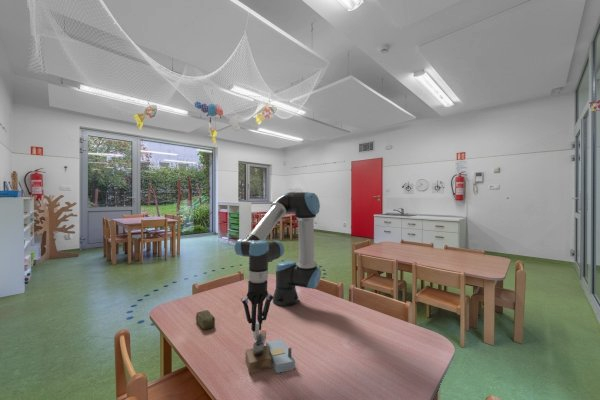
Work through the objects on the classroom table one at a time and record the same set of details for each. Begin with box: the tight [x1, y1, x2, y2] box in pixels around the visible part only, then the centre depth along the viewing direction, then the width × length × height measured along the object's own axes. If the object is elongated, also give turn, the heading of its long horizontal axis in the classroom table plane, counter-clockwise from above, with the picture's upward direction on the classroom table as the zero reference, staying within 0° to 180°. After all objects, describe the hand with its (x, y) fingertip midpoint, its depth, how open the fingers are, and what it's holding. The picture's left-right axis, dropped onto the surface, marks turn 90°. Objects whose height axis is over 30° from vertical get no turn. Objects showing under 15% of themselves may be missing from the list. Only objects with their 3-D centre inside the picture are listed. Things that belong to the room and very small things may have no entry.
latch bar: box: [252, 329, 267, 356], centre depth 98 cm, size 12×4×4 cm, turn 178°
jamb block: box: [244, 345, 272, 375], centre depth 94 cm, size 8×8×4 cm
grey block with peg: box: [265, 338, 296, 374], centre depth 97 cm, size 7×15×6 cm, turn 21°
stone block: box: [195, 309, 216, 330], centre depth 122 cm, size 6×12×5 cm, turn 40°
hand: (256, 338), depth 102 cm, fingers closed
